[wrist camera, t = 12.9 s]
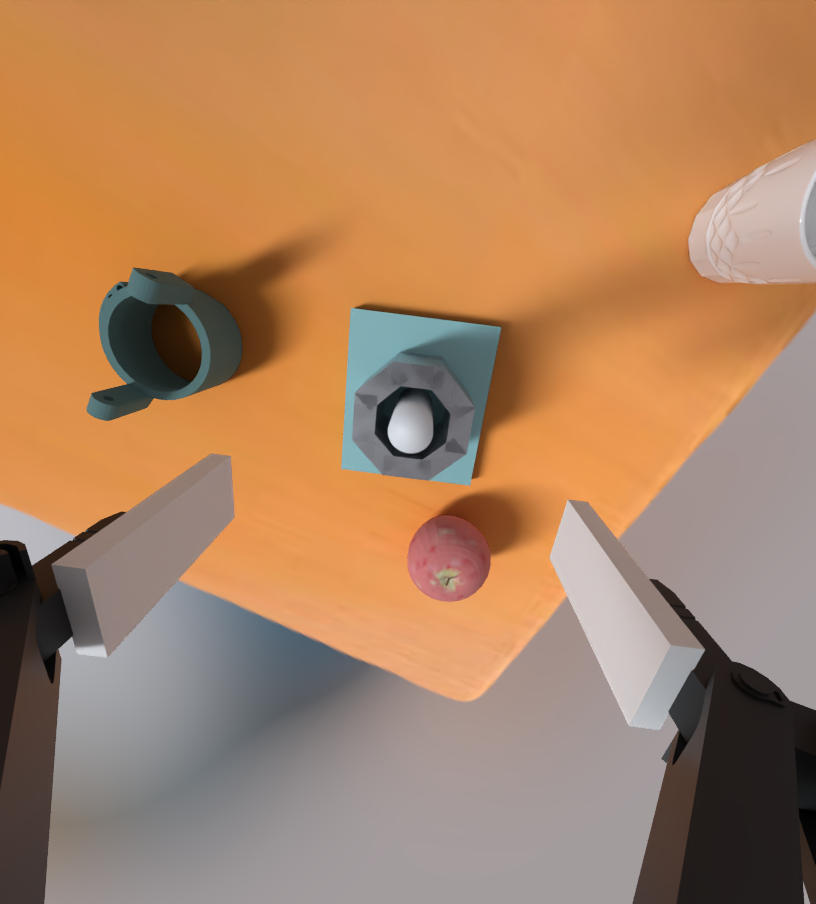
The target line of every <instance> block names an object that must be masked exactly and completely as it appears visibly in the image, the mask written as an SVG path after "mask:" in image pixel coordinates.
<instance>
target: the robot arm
mask: <svg viewBox="0 0 816 904" xmlns="http://www.w3.org/2000/svg"><path fill="white" fill-rule="evenodd" d="M234 517H235V516H234V500H233V484H232V469H231V456H226V455H218V454H210V455H208V456H207V457H206V458H204V459H203V460H201V461H200V462H198V463H197V464H195V465H194V466H193V467H191V468H190V469H188V470H187V471H185V472H184V473H182V474H181V475H180V476H178V477H177V478H175V479H174V480H172V481H171V482H169V483H168V484H167V485H165V486H164V487H162V488H161V489H159V490H158V491H157V492H155V493H154V494H152V495H151V496H149V497H148V498H146V499H145V500H144V501H142V502H141V503H139V504H138V505H136V506H135V507H133V508H132V509H131V510H129V511H128V512H119V513H117V514H114V515H112V516H109V517H107V518H104V519H102V520H100V521H99V522H97V523H96V524H94V525H93V526H91V527H90V528H88V529H87V530H86V532H82V533H81V534H79V535H78V536H76V537H75V538H73V541H69V542H67V543H66V544H64V545H63V546H61V547H60V548H58V549H57V550H55V551H54V552H52V553H51V554H49V555H48V556H46V557H44V558H43V559H42V560H40V561H38V562H37V563H35V564H34V565H31V562H30V559H29V555H28V552H27V549H26V546H25V544H23V543H21V542H19V541H8V540H3V541H0V904H44V899H45V898H44V897H45V884H46V870H47V856H48V842H49V828H50V813H51V799H52V785H53V771H54V770H53V769H54V756H55V742H56V727H57V714H58V700H59V685H60V671H61V657H60V654H59V650H58V649H59V648H60V647H61V646H62V645H63V644H64V643H65V642H66V641H67V640H69V639H70V638H71V637H73V641H74V644H75V647H76V651H77V654H83V655H92V656H99V657H106V658H107V657H109V655H110V654H111V653H112V652H113V651H114V650H115V649H116V648H117V647H118V646H119V644H120V643H121V642H122V641H123V640H124V639H125V638H126V637H127V636H128V634H129V633H130V632H131V631H132V630H133V629H134V628H135V627H136V625H138V623H139V622H140V621H141V620H142V619H143V618H144V617H145V615H146V614H147V613H148V612H149V611H150V610H151V609H152V608H153V607H154V606H155V605H156V603H157V602H158V601H159V600H160V599H161V598H162V597H163V596H164V595H165V593H166V592H167V591H168V590H169V589H170V588H171V587H172V585H174V584H175V583H176V581H177V580H178V579H179V578H180V577H181V576H182V575H183V574H184V573H185V571H186V570H187V569H188V568H189V567H190V566H191V565H192V564H193V563H194V562H195V560H196V559H197V558H198V557H199V556H200V555H201V554H202V553H203V552H204V550H205V549H206V548H207V547H208V546H209V545H210V544H211V543H212V542H213V541H214V539H215V538H216V537H217V536H218V535H219V534H220V533H221V532H222V531H223V529H224V528H225V527H226V526H227V525H228V524H229V523H230V522H231V521H232V520H233V518H234ZM550 560H551V562H552V564H553V566H554V569H555V571H556V573H557V575H558V577H559V579H560V581H561V583H562V585H563V588H564V590H565V592H566V594H567V596H568V598H569V600H570V602H571V604H572V606H573V609H574V611H575V613H576V615H577V617H578V619H579V621H580V624H581V625H582V628H583V630H584V632H585V634H586V636H587V638H588V640H589V643H590V645H591V646H592V649H593V651H594V653H595V655H596V657H597V659H598V662H599V664H600V666H601V667H602V670H603V672H604V674H605V676H606V678H607V680H608V683H609V685H610V687H611V689H612V691H613V693H614V695H615V697H616V700H617V702H618V704H619V706H620V708H621V710H622V712H623V714H624V716H625V719H626V721H627V723H628V725H629V726H633V727H640V728H648V729H656V730H660V728H661V727H662V725H663V723H664V721H665V720H666V718H667V716H668V714H670V715H671V717H672V719H673V721H674V722H675V724H676V726H677V728H678V729H679V730H678V732H677V734H676V735H675V737H674V739H673V740H672V742H671V744H670V745H669V747H668V749H667V750H666V752H665V754H664V755H663V757H662V760H664V761H665V762H666V763H667V766H666V770H665V774H664V778H663V783H662V787H661V790H660V794H659V799H658V803H657V807H656V811H655V815H654V819H653V823H652V827H651V831H650V835H649V839H648V843H647V847H646V851H645V855H644V859H643V863H642V868H641V872H640V876H639V880H638V884H637V888H636V892H635V896H634V900H633V904H804V893H803V882H804V885H805V888H806V891H807V894H808V898H809V901H810V904H816V710H813V709H810V708H808V707H805V706H803V705H800V704H797V703H794V702H792V701H789V699H788V698H787V697H786V696H785V694H784V693H783V692H782V691H781V689H780V688H779V687H777V686H776V685H775V684H774V683H773V682H772V681H770V680H769V679H768V678H767V677H765V676H764V675H762V674H760V673H759V672H757V671H756V670H754V669H752V668H750V667H747V666H745V665H743V664H741V663H737V662H732V661H731V660H730V659H729V657H728V656H727V655H726V654H725V653H724V651H723V650H722V649H721V648H720V647H719V645H718V644H717V643H716V642H715V641H714V639H713V638H712V637H711V636H710V635H709V634H708V632H707V631H706V630H705V629H704V628H703V627H702V625H701V624H700V623H699V622H698V621H696V620H695V617H694V616H693V615H692V613H691V612H690V611H689V610H688V609H686V608H685V605H684V604H683V603H682V602H681V601H680V599H679V598H678V597H677V596H676V594H675V593H674V592H672V591H671V590H670V589H669V588H667V587H666V586H665V585H663V584H662V583H660V582H659V581H658V580H654V579H648V577H647V576H646V575H645V574H644V572H643V571H642V570H641V569H640V567H639V566H638V565H637V564H636V562H635V561H634V560H633V558H632V557H631V556H630V555H629V553H628V552H627V551H626V550H625V548H624V547H623V546H622V545H621V543H620V542H619V541H618V540H617V538H616V537H615V536H614V535H613V533H612V532H611V531H610V530H609V528H608V527H607V526H606V525H605V523H604V522H603V521H602V520H601V518H600V517H599V516H598V515H597V513H596V512H595V511H594V510H593V508H592V507H591V506H590V504H589V503H588V502H583V501H575V500H568V501H567V504H566V507H565V510H564V513H563V517H562V520H561V523H560V526H559V529H558V532H557V536H556V539H555V542H554V545H553V548H552V551H551V555H550Z"/></svg>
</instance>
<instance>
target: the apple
mask: <svg viewBox="0 0 816 904" xmlns="http://www.w3.org/2000/svg"><path fill="white" fill-rule="evenodd" d="M489 569H490V551H489V547H488V543H487V541H486V540H485V538H484V537H483V535H482V533H481V532H480V531H479V530H478V529H477V528H476V527H475V526H474V525H473V524H471V523H470V522H468V521H466V520H464V519H462V518H459V517H456V516H450V515H442V516H437V517H434V518H432V519H430V520H428V521H427V522H426V523H424V524H423V525H422V526H421V527H420V528H419V529H418V531H417V532H416V533H415V535H414V537H413V538H412V540H411V542H410V546H409V551H408V571H409V574H410V577H411V579H412V581H413V582H414V584H415V585H416V586H417V587H418V589H419V590H421V591H422V592H423V593H424V594H426V595H427V596H429V597H431V598H433V599H436V600H439V601H447V602H451V601H459V600H462V599H465V598H468V597H469V596H471V595H472V594H474V593H475V592H476V591H477V590H478V589H479V588H480V587H481V586H482V585H483V583H484V582H485V580H486V578H487V577H488V573H489Z"/></svg>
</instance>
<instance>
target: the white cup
mask: <svg viewBox="0 0 816 904" xmlns="http://www.w3.org/2000/svg"><path fill="white" fill-rule="evenodd" d="M688 245H689V255H690V261H691V263H692V264H693V266H694V267H695V268H696V270H697V271H698V273H699V274H700V275H701V276H702V277H705V278H707V279H710V280H712V281H715V282H717V283H738V282H739V283H741V282H742V283H749V284H816V138H815V139H813V140H811V141H809V142H807V143H805V144H803V145H801V146H799V147H797V148H795V149H793V150H791V151H789V152H787V153H785V154H783V155H781V156H779V157H778V158H776V159H774V160H772V161H770V162H769V163H767V164H765V165H763V166H761V167H759V168H757V169H755V170H753V171H752V172H751V173H750V174H748V175H746V176H744V177H741V178H739V179H737V180H735V181H734V182H732V183H730V184H729V185H727V186H726V187H724V188H722V189H721V190H719V191H718V192H716V193H714V194H713V195H712V196H711V197H710V199H709V200H708V201H707V202H706V204H705V205H704V206H703V207H702V209H701V210H700V211H699V213H698V214H697V215H696V217H695V220H694V223H693V226H692V229H691V232H690V235H689V238H688Z"/></svg>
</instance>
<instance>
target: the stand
mask: <svg viewBox="0 0 816 904" xmlns="http://www.w3.org/2000/svg"><path fill="white" fill-rule="evenodd" d="M500 332H501V327H498V326H490V325H482V324H475V323H467V322H459V321H451V320H443V319H435V318H427V317H420V316H412V315H404V314H396V313H388V312H380V311H372V310H365V309H357V308H351V315H350V332H349V349H348V366H347V383H346V400H345V417H344V433H343V450H342V467H341V469H347V470H355V471H362V472H370V473H378V474H381V472H380V471H379V470H378V469H377V468H376V467H375V466H374V465H373V463H372V462H371V461H370V460H369V459H368V458H367V457H366V455H365V454H364V453H363V452H362V451H361V450H360V449H359V448H358V446H357V445H356V444H355V443H354V442H353V441H352V431H353V414H354V397H355V392H356V391H357V390H358V389H359V388H360V387H361V385H362V384H363V383H364V382H365V381H366V380H367V379H368V378H369V377H370V376H371V375H373V374H374V373H375V372H376V371H377V370H379V369H380V368H381V367H382V366H383V365H385V364H386V363H387V362H388V361H390V360H391V359H392V358H393V357H394V356H396V355H397V354H398V353H399V352H405V353H414V354H422V355H430V356H439V357H443V359H444V360H445V361H446V363H447V364H448V365H449V367H450V368H451V369H452V371H453V372H454V373H455V375H456V376H457V377H458V379H459V380H460V381H461V383H462V384H463V385H464V387H465V388H466V389H467V391H468V393H469V395H470V398H471V400H472V402H473V404H474V406H475V411H474V416H473V422H472V427H471V433H470V439H469V444H468V450H467V454H466V455H465V456H463V457H462V458H460V459H459V460H458V461H456V462H455V463H453V464H452V465H450V466H449V467H447V468H446V469H445V470H443V471H442V472H440V473H439V474H437V475H436V476H434V477H433V478H432V479H430V480H431V481H439V482H446V483H454V484H461V485H469V486H470V483H471V478H472V473H473V468H474V463H475V458H476V453H477V448H478V443H479V438H480V433H481V428H482V423H483V417H484V412H485V407H486V402H487V397H488V392H489V387H490V382H491V377H492V372H493V367H494V362H495V357H496V352H497V347H498V342H499V337H500ZM444 412H445V406H444V405H443V404H442V402H441V401H440V400H439V399H438V397H437V396H436V395H435V393H434V392H433V391H432V390H428V389H420V388H411V387H403V386H400V387H399V388H398V389H396V390H395V391H394V392H393V393H391V394H390V395H389V396H388V397H386V398H385V407H384V413H385V415H386V416H387V417H388V418H389V419H390V423H389V426H388V436H389V439H390V442H391V443H392V445H393V446H394V447H395V448H397V449H398V450H400V451H402V452H405V453H417V452H420V451H422V450H424V449H425V448H426V447H427V446H428V445H429V444H430V442H431V440H432V437H433V427H434V426H436V425H437V424H439V423H440V422H441V421H443V419H444Z"/></svg>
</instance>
